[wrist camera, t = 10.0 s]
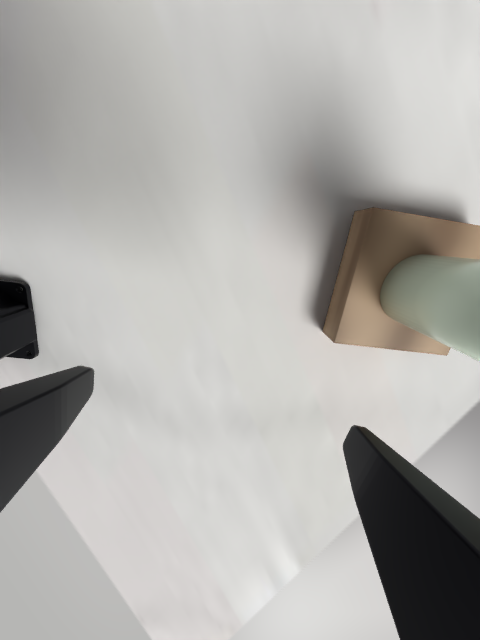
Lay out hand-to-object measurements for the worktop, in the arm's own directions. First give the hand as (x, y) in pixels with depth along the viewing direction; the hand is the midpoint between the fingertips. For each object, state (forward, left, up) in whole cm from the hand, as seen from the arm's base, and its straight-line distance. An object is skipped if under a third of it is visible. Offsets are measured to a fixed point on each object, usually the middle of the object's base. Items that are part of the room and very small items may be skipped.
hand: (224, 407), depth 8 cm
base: (+14, +4, -13) cm, 19 cm away
